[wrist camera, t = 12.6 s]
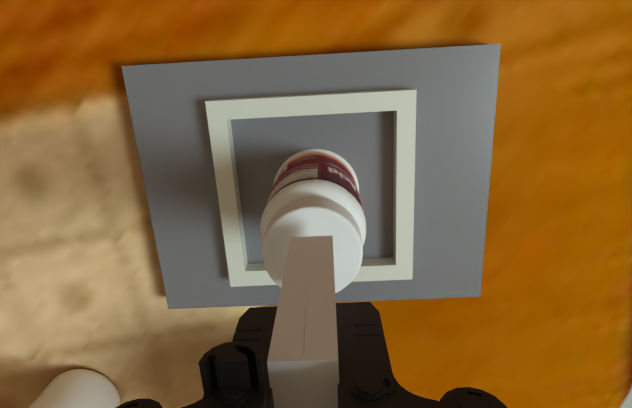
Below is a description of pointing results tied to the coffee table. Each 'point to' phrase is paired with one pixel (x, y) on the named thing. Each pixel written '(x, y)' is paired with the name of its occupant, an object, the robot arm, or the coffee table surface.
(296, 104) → the socket plate
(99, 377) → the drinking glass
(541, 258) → the coffee table surface
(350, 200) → the pill bottle
